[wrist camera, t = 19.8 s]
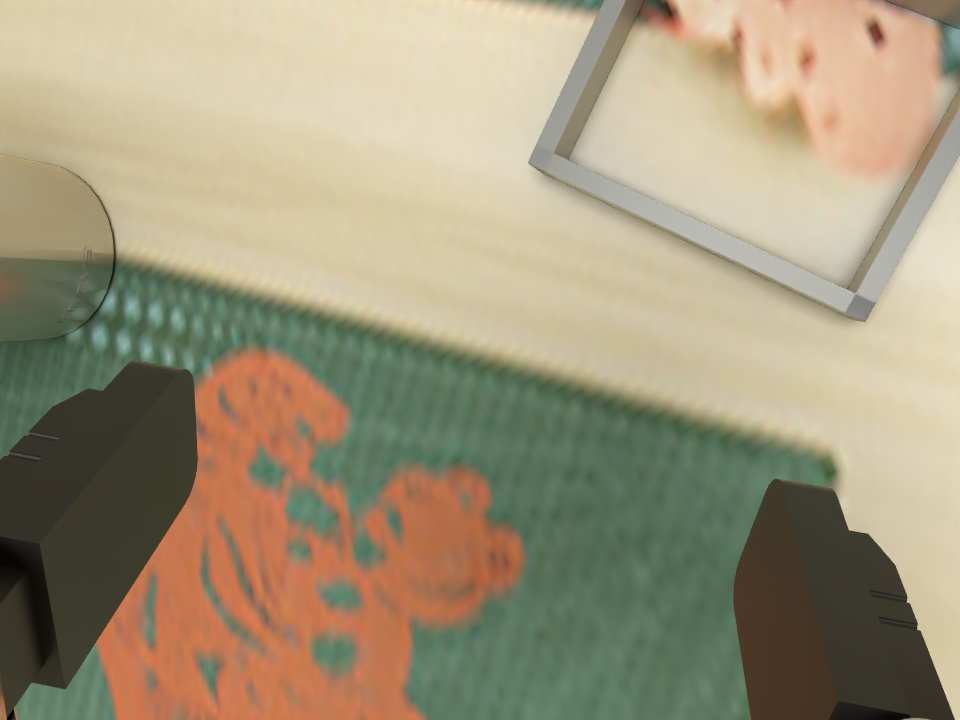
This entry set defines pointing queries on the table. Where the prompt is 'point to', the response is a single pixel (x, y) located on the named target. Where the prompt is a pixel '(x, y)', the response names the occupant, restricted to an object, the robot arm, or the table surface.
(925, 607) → the table surface
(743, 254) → the grey rectangular frame
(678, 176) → the table surface
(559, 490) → the table surface
